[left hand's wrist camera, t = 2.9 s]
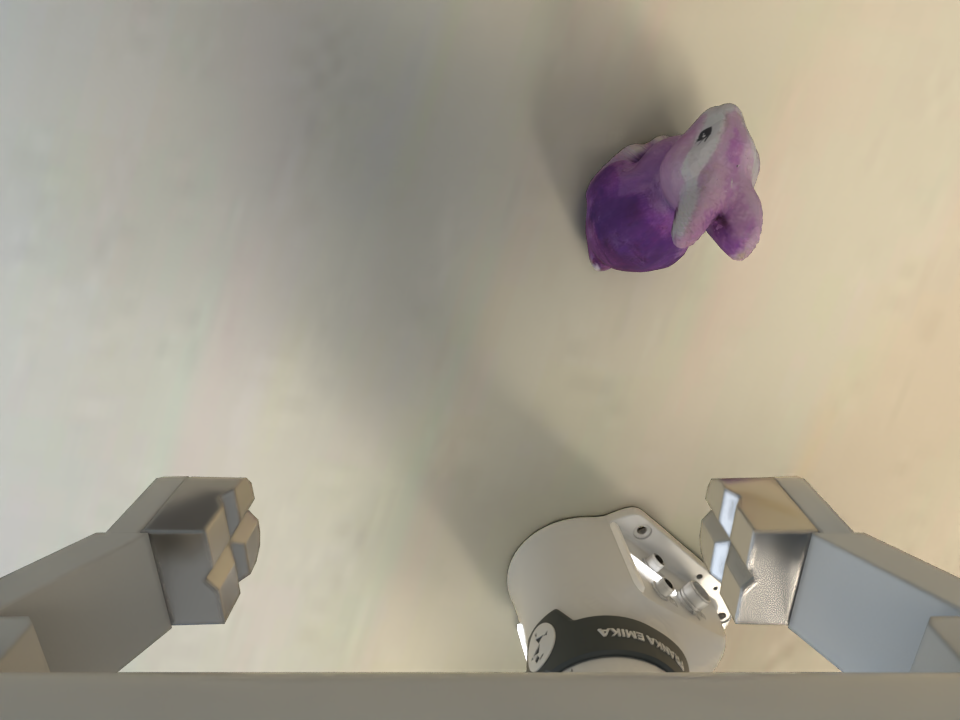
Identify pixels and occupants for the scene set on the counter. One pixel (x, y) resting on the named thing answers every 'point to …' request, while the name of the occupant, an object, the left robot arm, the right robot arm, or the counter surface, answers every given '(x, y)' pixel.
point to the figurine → (676, 196)
